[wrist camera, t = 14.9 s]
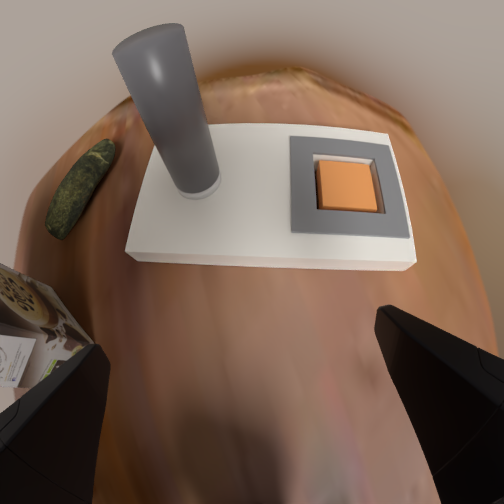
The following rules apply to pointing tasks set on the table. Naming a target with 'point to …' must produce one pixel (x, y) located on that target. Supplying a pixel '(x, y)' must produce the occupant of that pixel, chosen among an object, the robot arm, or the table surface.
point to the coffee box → (33, 330)
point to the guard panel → (276, 205)
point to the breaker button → (345, 187)
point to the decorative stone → (78, 188)
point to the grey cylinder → (171, 105)
